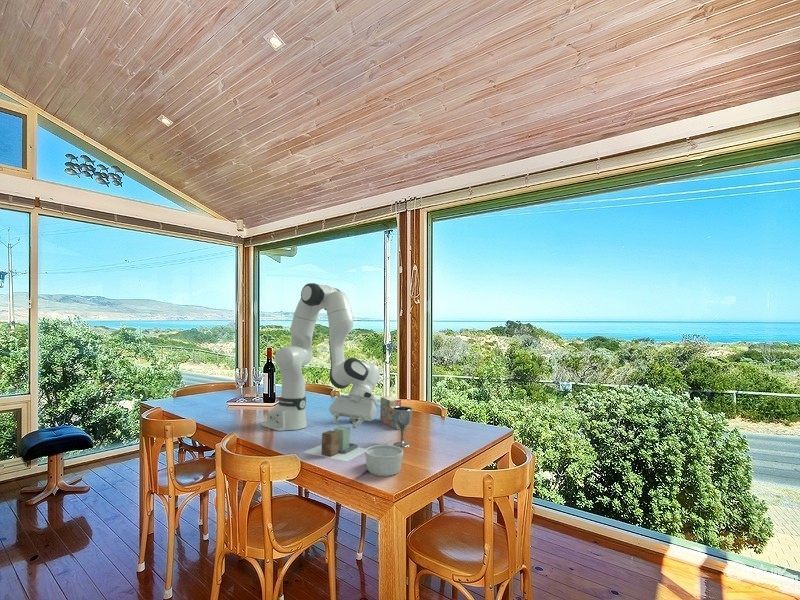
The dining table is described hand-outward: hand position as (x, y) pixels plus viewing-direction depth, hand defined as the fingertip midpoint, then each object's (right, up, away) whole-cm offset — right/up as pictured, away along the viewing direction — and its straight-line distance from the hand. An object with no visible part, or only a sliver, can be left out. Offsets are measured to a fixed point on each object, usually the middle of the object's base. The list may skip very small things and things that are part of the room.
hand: (344, 426), depth 161 cm
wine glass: (+23, -11, +9) cm, 27 cm away
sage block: (-1, -8, -2) cm, 8 cm away
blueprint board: (-2, -9, -5) cm, 11 cm away
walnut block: (-4, -8, -9) cm, 13 cm away
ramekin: (+17, -9, -21) cm, 28 cm away
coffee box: (+2, -12, +47) cm, 48 cm away
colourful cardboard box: (+19, -13, +43) cm, 48 cm away
